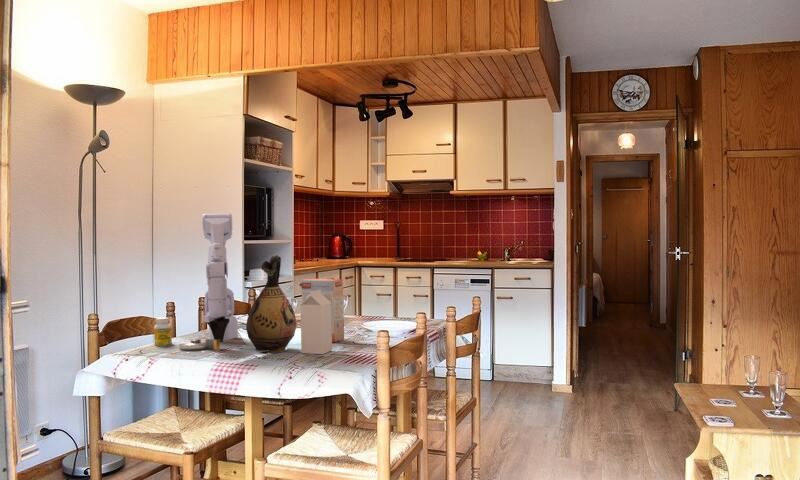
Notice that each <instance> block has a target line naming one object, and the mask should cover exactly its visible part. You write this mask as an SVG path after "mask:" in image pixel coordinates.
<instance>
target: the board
mask: <svg viewBox="0 0 800 480" xmlns="http://www.w3.org/2000/svg"><path fill="white" fill-rule="evenodd" d="M240 346H241V344H235V343H223V342H220V349H219V350H212V349H204V350H194V351H185V350H180V349H179V344H176V345H171V346H166V347H161V348H157V349H153V350H150V352H153V353H159V354H160V353H161V354H168V355H169V354H170V355H172V354H173V355H178V356H179V355H181V356H188V357H199V356H202V355H206V354H211V353H215V352H218V351H223V350H227V349H230V348H231V349H232V348H235V347H240Z"/></svg>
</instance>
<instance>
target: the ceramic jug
mask: <svg viewBox="0 0 800 480" xmlns="http://www.w3.org/2000/svg"><path fill="white" fill-rule="evenodd" d="M281 261H282V258H281V256H279V255H273V256H271V257H270V259H269V260H266V261H263V263H262V264H261V270H262V271H263V272H264V273H265V274H267V277H266V279H267V282H266V283H265V285H264V287H263V289H261V292H260V293H259V294H258V296H257V297H256V299H255V301H254V302H253V303H252V306H251V307H250V309H249V312H248V315H247V319H246V325H245V327H246V334H247V337H248V340H249V341H250V342H251V343H252V345H253V346H254V347H255V349H256V350H257V351H262V352H260V354H276V353H277V354H279V353H282V352H284V351H285V350H286V348H287V347H288V344H289V343H290V342H291V340H292V339H293V338H294V336H295V333H296V330H297V320H296V314H295V311H294V307H292V303H291V302H290V301H289V299H288V298H287V296H286V294H285V293H284V291H283V290H282V288H281V285H279V278H280V273H281V272H280V271H281V263H282V262H281Z"/></svg>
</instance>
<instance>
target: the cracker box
mask: <svg viewBox="0 0 800 480" xmlns="http://www.w3.org/2000/svg"><path fill="white" fill-rule="evenodd" d="M318 290H321V294H322V295H323V296H324V297H325V298H326V299H328V300H329V301H330V302H331V325H332V343H337V342H342V341H344V340H345V316H344V315H345V314H344V310H345V309H344V307H345V306H344V280H343V279H340V278H339V279H336V278H335V279H334V278H333V279H332V278H305V279H301V304H302V303H303V302H304V301H305V300H306V297H307V296H308V295H310V292H313V291H318Z"/></svg>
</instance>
